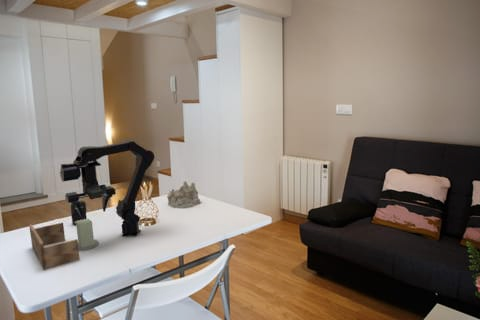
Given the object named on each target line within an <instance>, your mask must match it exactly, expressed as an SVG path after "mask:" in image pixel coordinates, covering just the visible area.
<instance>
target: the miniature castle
mask: <svg viewBox="0 0 480 320" xmlns="http://www.w3.org/2000/svg"><path fill="white" fill-rule="evenodd" d="M182 184H183V185H181V187H180V188H179V189H177V190H176V189H174V188H172V189H171V190H170V191H169V192H168V194H167V196H166V198H167V201H168V203H167V206H169V207H170V208H175V209H190V208H193V207H195V206H198V205H200V204H201V199H200V198H199V195H198V194H199V192H198V191H197V189H196V184H195V182H191V183H190V185H188V183H187V181H186V180H184V181H183V183H182Z"/></svg>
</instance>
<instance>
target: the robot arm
mask: <svg viewBox="0 0 480 320" xmlns="http://www.w3.org/2000/svg"><path fill="white" fill-rule="evenodd" d="M128 151H129V152H130V153H132V154H133V155H135V156H136V157H135V169H134V171H133V174H132V177H131V180H130V183H129V186H128V188H127V190H126V193H125V196H124V198H123V199H122V200H121V199H118V202H117V205H116V206H115V209H116V210H115V211H116V214H117V216H118V217H120V218H121V220H123V221H122V222H121V223H122V224H121V233H122V235H121V236H122V237H137V236H138V235H139V234H140V232H141V229H140V224H139V222H140V218H141V216H139V215H138V214H136V213H135V212H136V199H137V197H138V194H139V190H140V189H141V188H140V187H141V185H142V183H143V180H144V178H145V177H144V176H145V175H146V171H147V170H148V169H149V168H150V167H151V165H152V164H153V161H154V160H155V154H154V152H153V151H152V150H149V149H145V148H144V147H143V146H141V145H139V144H138V143H136V142H135V141H133V140H126V141H122V142H117V143H112V144H107V145H103V146H101V145H100V146H81V147H80V148H79V149H78V151H77V155H76V158H75V159H74V160H73V162H72V163H62V164H61V163H60V169H59V170H60V172H59V175H60V180H61V182H69V181H75V180H79V178H81V183H82V192H80V193H78V192H76V191H73V192H67V193H66V194H65V196H64V197H65V198H64V199H65V201H66V202H67V203H68V204H70V203H72V204H74V205H75V206H76V208H77V210H78V212H79V214H80V216H81V217H82V211H81V206H80V201H79V200H80V199H83V198H89V199H90V200H95V199H100V198H101V202H102V203H101V204H102V211H103V213H104V212H106V209H107V205H108V203H109V200H110V198H112V197H114V196H115V195H116V194H117V193H116V192H117V191H116V188H114V187H113V186H111V185H106V184H105V183H104V184H99V181H98V177H97V176H98V175H97V167H100V166H102V164H101V162H99V161H98V160H99V159H101V158H103V157H106V156H111V155H115V154H120V153H125V152H128Z"/></svg>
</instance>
